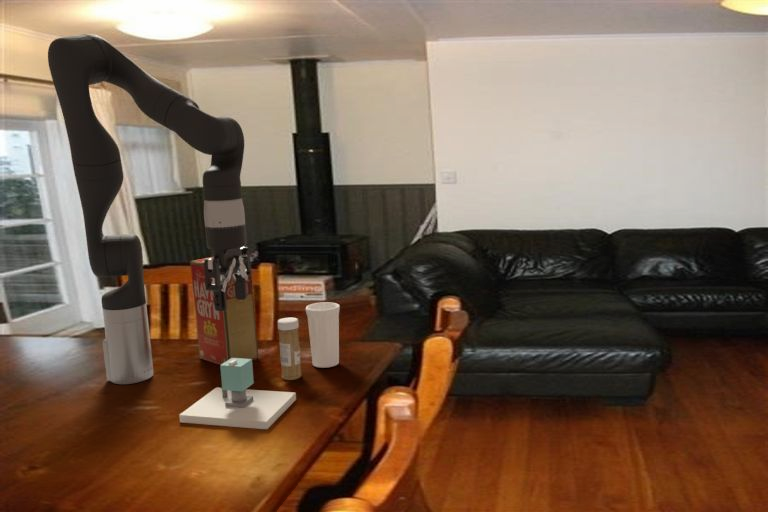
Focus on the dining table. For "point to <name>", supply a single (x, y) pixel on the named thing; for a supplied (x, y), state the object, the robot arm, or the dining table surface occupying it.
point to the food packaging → (223, 320)
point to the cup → (324, 333)
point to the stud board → (239, 408)
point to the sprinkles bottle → (289, 348)
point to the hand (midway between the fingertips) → (231, 304)
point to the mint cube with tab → (237, 374)
